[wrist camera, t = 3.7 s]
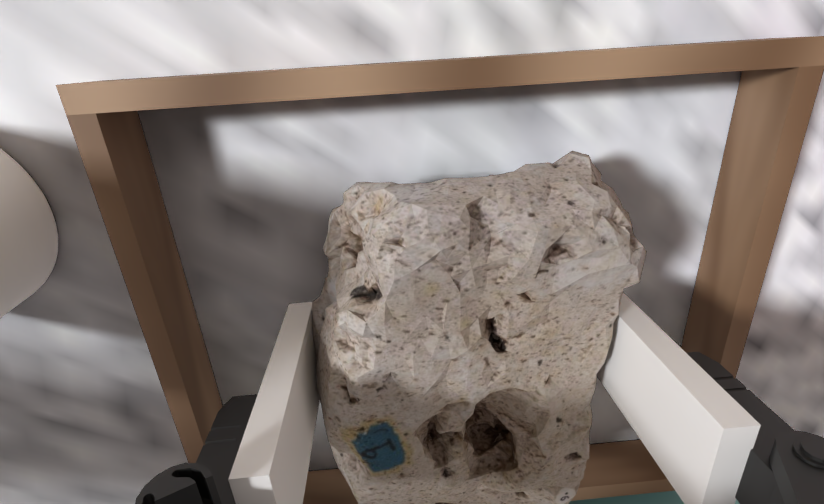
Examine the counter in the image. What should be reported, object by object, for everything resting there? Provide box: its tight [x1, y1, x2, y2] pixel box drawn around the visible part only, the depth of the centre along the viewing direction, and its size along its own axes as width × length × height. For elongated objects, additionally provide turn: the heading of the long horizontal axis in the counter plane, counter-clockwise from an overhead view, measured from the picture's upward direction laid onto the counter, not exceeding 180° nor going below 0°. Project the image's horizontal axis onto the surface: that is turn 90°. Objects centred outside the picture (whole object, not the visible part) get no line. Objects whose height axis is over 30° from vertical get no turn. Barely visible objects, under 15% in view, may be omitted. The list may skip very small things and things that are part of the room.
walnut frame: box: [56, 36, 824, 504], centre depth 15 cm, size 19×16×2 cm
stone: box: [312, 151, 647, 504], centre depth 14 cm, size 13×6×10 cm
